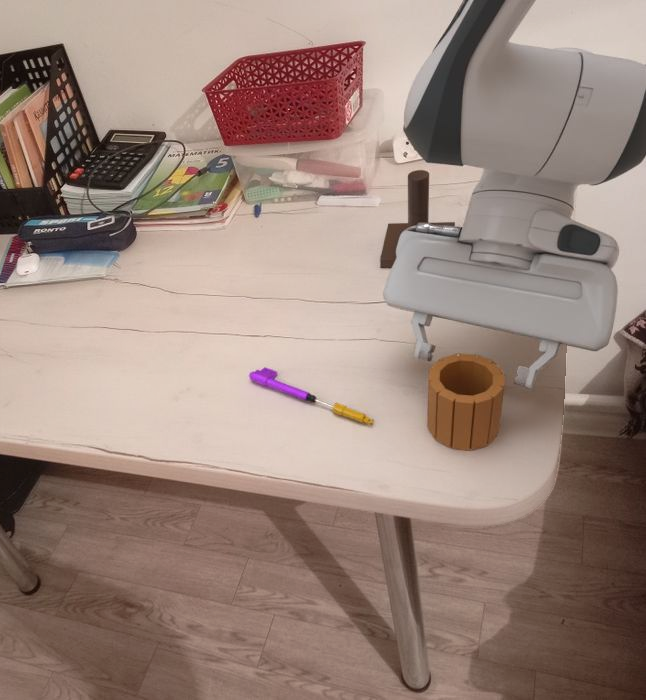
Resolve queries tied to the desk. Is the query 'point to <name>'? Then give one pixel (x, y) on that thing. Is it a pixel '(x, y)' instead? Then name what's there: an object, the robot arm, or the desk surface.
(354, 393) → the desk surface
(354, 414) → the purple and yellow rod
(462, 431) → the wooden hollow cylinder
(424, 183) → the stand
